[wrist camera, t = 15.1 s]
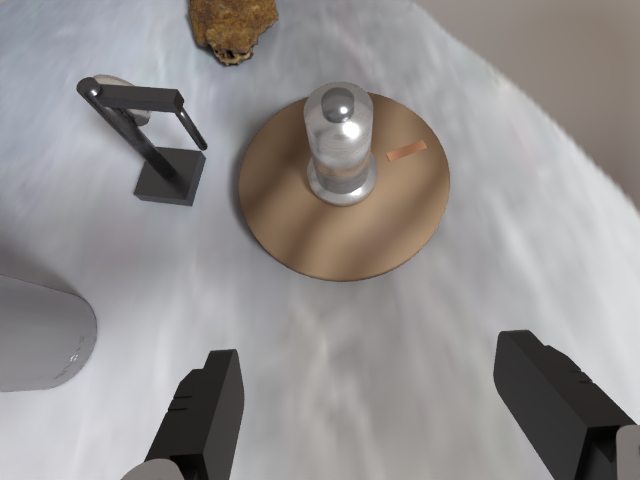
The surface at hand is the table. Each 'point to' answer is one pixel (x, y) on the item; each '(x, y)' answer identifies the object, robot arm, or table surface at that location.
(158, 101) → the stand
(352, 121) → the cover
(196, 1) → the decorative rock
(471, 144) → the table surface
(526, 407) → the robot arm
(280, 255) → the disc
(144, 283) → the table surface
